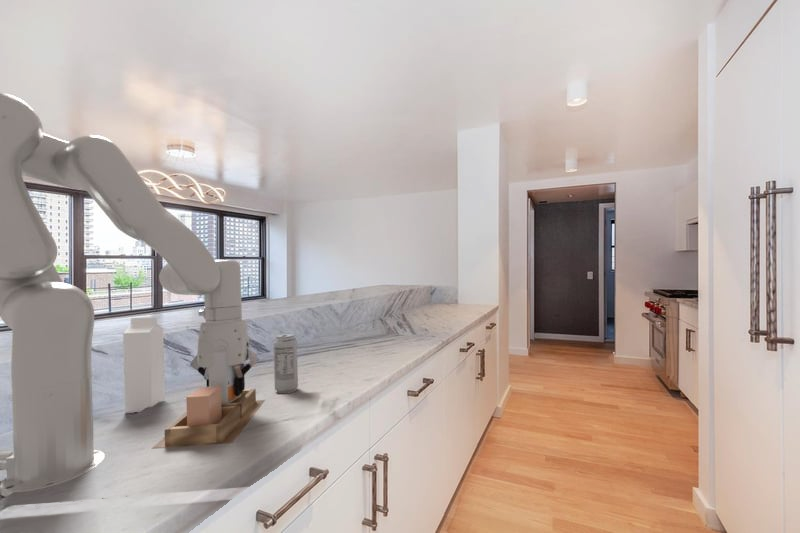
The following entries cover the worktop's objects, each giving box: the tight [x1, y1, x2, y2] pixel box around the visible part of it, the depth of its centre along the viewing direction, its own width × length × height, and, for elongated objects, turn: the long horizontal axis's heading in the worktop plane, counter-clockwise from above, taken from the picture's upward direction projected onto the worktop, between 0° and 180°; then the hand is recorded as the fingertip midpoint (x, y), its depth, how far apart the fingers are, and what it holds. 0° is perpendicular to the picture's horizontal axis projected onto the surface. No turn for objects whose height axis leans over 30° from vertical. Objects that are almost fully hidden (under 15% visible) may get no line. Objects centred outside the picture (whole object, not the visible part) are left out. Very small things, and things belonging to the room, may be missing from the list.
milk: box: [122, 316, 166, 414], centre depth 90 cm, size 6×6×22 cm
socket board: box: [152, 388, 266, 449], centre depth 78 cm, size 14×22×4 cm, turn 5°
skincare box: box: [208, 350, 241, 404], centre depth 83 cm, size 6×4×12 cm
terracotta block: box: [185, 386, 222, 426], centre depth 73 cm, size 4×6×8 cm, turn 5°
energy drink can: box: [273, 333, 299, 395], centre depth 100 cm, size 6×6×15 cm
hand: (226, 393), depth 84 cm, fingers closed on skincare box, 5 cm apart
